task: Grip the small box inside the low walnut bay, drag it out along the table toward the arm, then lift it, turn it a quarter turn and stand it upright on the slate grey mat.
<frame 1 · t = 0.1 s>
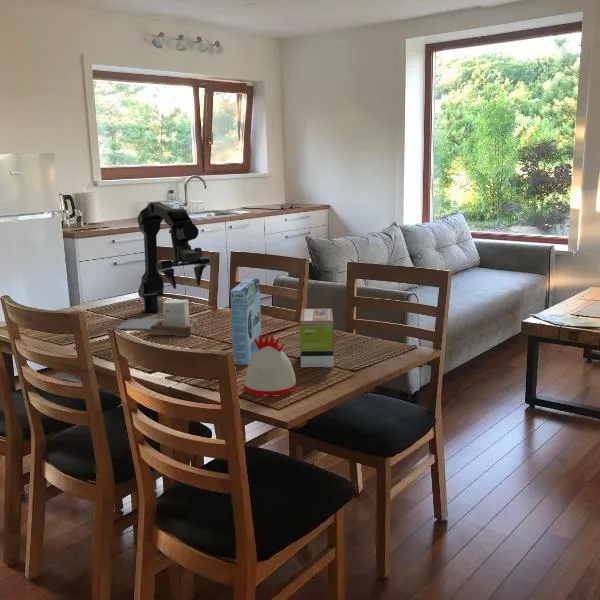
hand: (187, 287, 238), 15 cm above the table, tool pointing down, fingers open, 9 cm apart
small box: (177, 329, 241), on the table
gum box: (247, 356, 209), on the table
walnut bay: (176, 329, 240), on the table
tea box: (317, 361, 204), on the table
slate mat: (141, 325, 247), on the table
kitchen timer: (270, 388, 181), on the table
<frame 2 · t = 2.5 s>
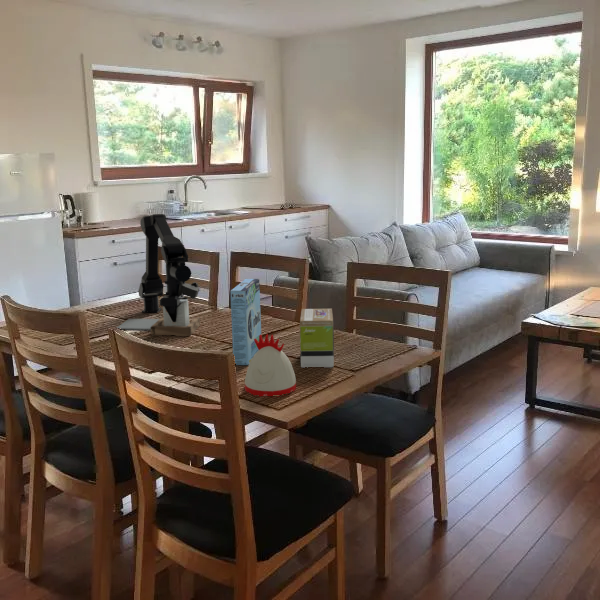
hand: (176, 319, 240), 4 cm above the table, tool pointing down, fingers closed on small box, 6 cm apart
small box: (177, 329, 241), on the table, touching gripper
everything else where it was.
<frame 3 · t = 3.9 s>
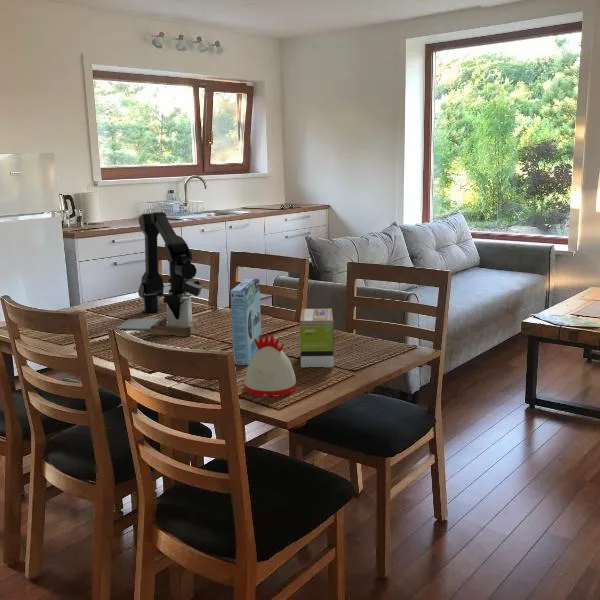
hand: (179, 317, 244), 3 cm above the table, tool pointing down, fingers closed on small box, 6 cm apart
small box: (180, 326, 245), on the table, touching gripper
everything else where it was.
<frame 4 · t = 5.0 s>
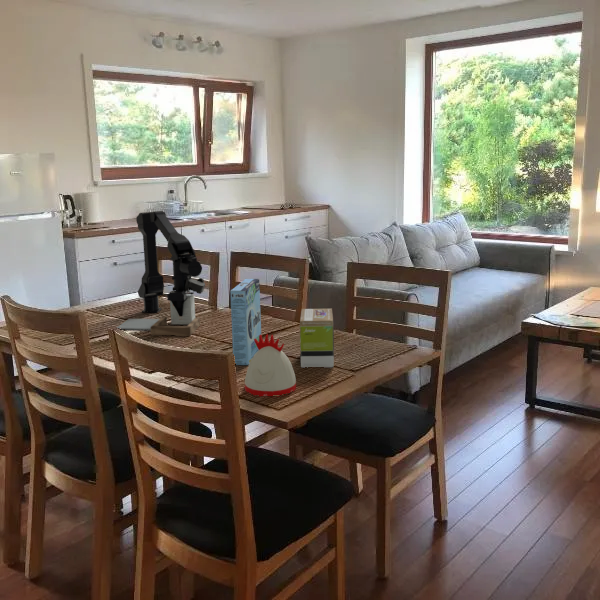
hand: (183, 314, 249), 3 cm above the table, tool pointing down, fingers closed on small box, 6 cm apart
small box: (183, 323, 250), on the table, touching gripper
everything else where it was.
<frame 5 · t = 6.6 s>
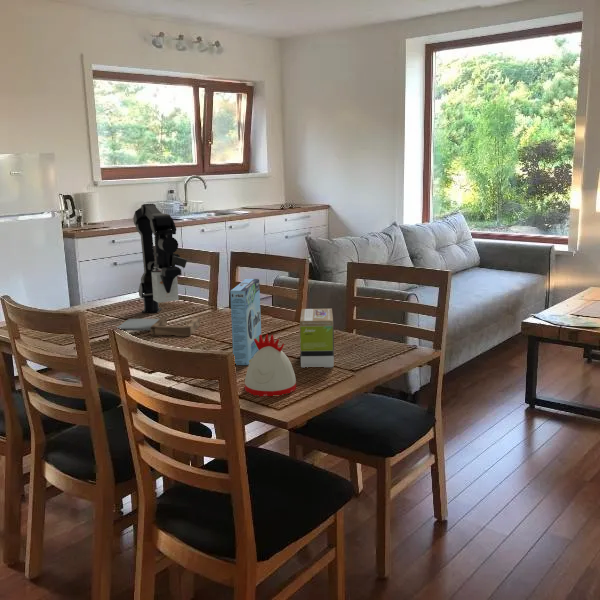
hand: (165, 291, 246), 12 cm above the table, tool pointing down, fingers closed on small box, 6 cm apart
small box: (165, 300, 247), point 9 cm above the table, touching gripper
everything else where it was.
when the fingers open (5 cm above the table, at t = 8.9 s): small box drops 1 cm, resting on slate mat.
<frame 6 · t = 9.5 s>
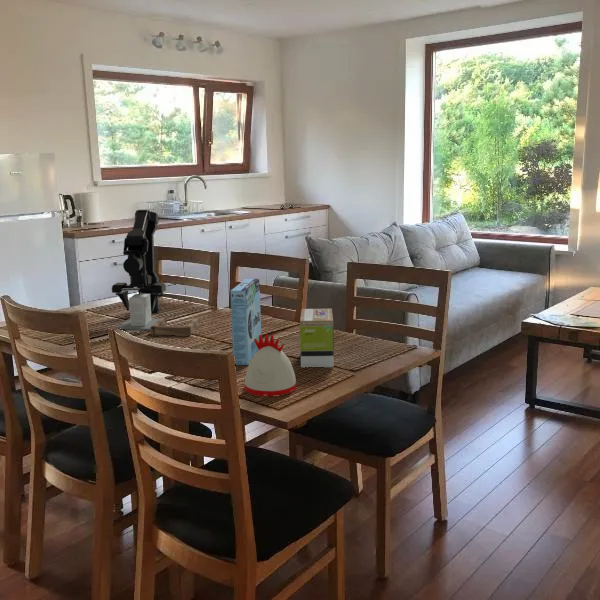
hand: (140, 310, 246), 5 cm above the table, tool pointing down, fingers open, 9 cm apart
small box: (141, 324, 247), resting on slate mat
everything else where it was.
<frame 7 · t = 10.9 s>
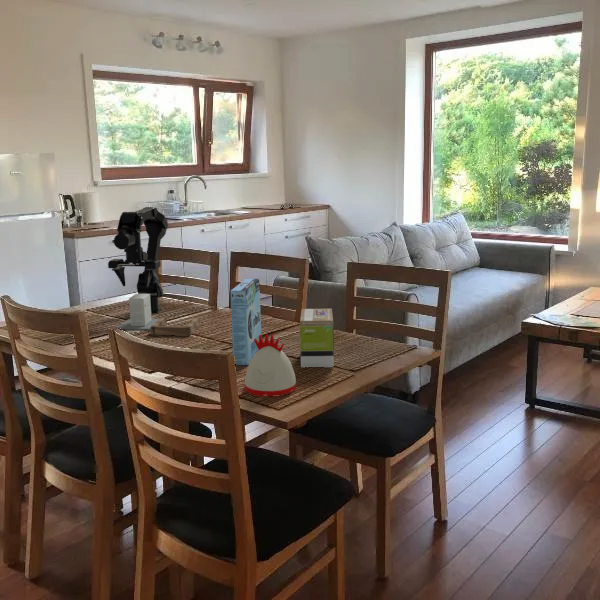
hand: (135, 286, 252), 13 cm above the table, tool pointing down, fingers open, 9 cm apart
nothing on the table moved.
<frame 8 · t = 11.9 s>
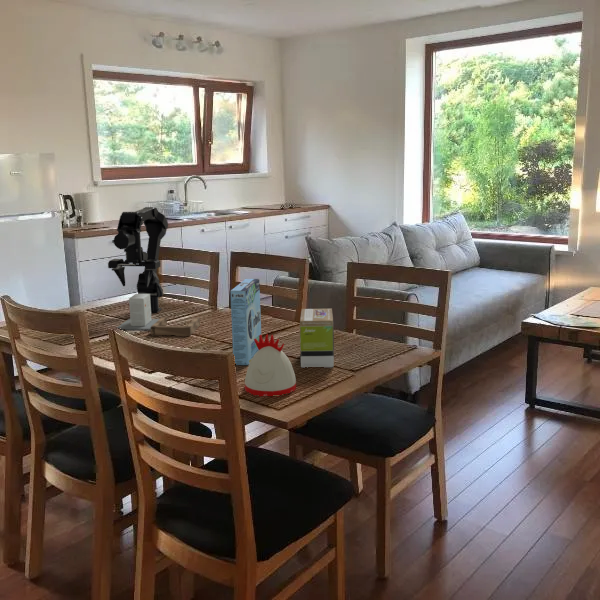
hand: (135, 286, 252), 13 cm above the table, tool pointing down, fingers open, 9 cm apart
nothing on the table moved.
at the end: small box inside the target area on the slate mat (0.1 cm from its centre), point 0.4 cm above the slate mat's base; small box tilted 0°; the gripper is holding nothing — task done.
